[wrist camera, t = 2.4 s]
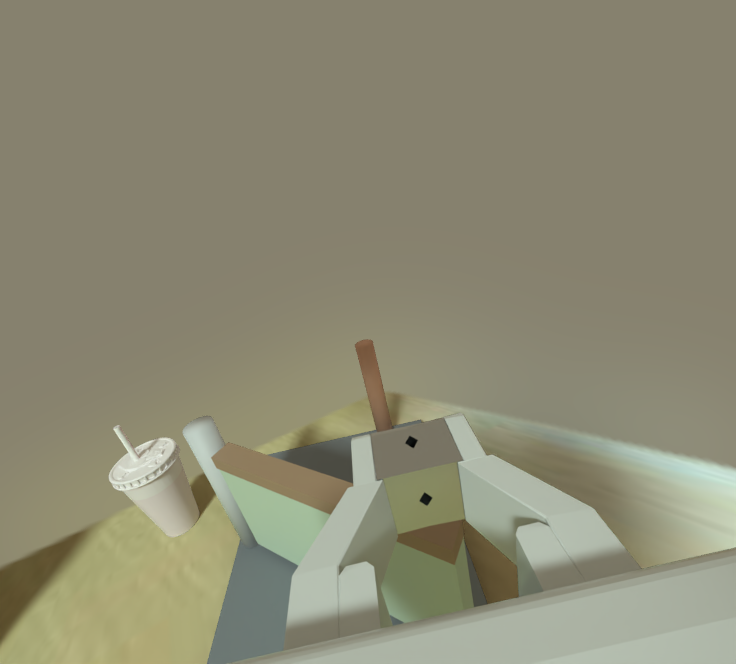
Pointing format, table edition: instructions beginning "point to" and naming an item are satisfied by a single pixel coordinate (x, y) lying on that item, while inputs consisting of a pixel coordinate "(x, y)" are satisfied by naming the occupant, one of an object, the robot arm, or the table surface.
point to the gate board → (262, 566)
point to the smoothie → (156, 483)
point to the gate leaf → (310, 513)
